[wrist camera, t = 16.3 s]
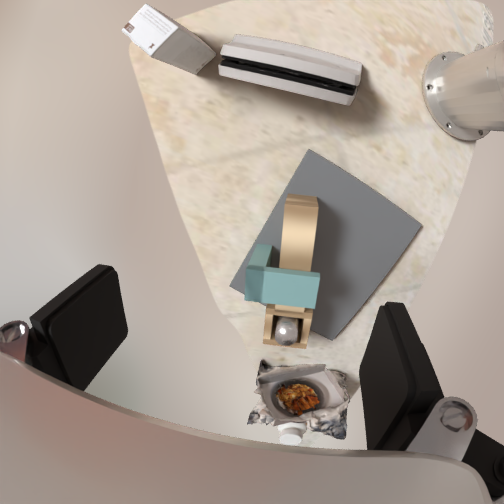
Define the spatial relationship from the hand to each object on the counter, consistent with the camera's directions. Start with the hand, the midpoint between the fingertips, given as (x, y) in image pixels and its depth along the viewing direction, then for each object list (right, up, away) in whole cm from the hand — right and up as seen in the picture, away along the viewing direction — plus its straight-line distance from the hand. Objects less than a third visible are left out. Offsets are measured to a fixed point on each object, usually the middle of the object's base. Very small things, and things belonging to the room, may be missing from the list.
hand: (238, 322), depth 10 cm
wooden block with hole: (+6, +1, +30) cm, 31 cm away
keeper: (+5, +1, +30) cm, 31 cm away
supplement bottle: (+9, -26, +43) cm, 51 cm away
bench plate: (+10, +2, +30) cm, 32 cm away
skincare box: (-8, +29, +23) cm, 38 cm away
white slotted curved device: (+6, +25, +22) cm, 34 cm away
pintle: (+6, -5, +33) cm, 34 cm away
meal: (+9, -18, +39) cm, 44 cm away
